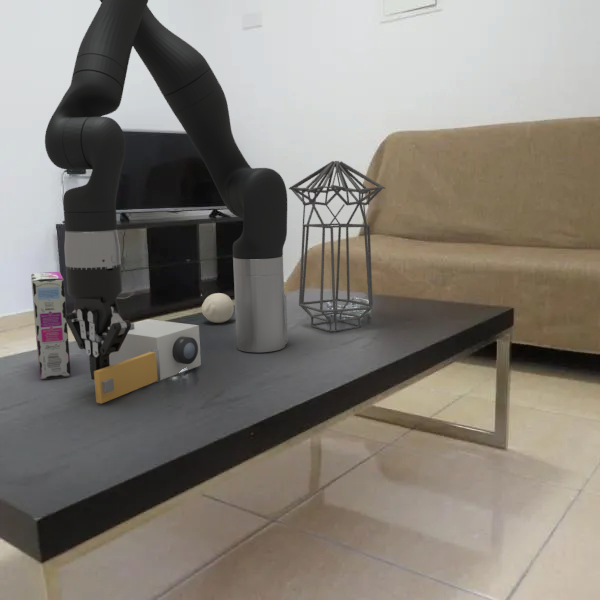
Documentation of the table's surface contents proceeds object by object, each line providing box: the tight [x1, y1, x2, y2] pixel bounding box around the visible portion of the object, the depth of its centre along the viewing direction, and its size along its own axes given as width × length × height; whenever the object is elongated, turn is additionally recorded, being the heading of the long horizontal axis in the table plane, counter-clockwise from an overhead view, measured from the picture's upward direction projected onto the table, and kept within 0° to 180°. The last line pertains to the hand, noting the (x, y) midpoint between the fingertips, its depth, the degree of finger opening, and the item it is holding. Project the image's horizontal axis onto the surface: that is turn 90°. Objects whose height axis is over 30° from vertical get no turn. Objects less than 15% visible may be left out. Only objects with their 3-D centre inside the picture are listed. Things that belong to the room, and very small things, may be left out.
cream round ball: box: [201, 292, 235, 324], centre depth 145 cm, size 7×7×7 cm
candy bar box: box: [30, 271, 72, 380], centre depth 109 cm, size 11×5×16 cm, turn 23°
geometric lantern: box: [288, 160, 386, 333], centre depth 136 cm, size 16×16×35 cm
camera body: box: [109, 318, 202, 381], centre depth 109 cm, size 10×14×8 cm
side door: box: [93, 349, 162, 404], centre depth 97 cm, size 13×2×5 cm, turn 151°
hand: (100, 379), depth 95 cm, fingers closed
